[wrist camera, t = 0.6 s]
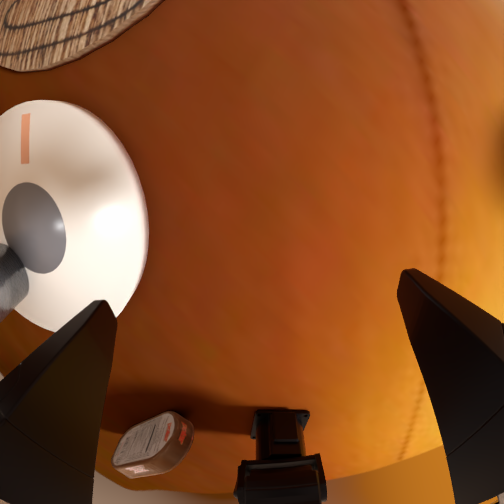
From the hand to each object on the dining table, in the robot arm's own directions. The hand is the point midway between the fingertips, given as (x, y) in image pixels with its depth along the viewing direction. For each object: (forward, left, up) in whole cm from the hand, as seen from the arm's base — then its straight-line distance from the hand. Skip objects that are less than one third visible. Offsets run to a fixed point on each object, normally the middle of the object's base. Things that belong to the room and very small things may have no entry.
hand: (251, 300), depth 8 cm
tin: (-30, +10, -14) cm, 35 cm away
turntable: (-3, +18, -14) cm, 23 cm away
